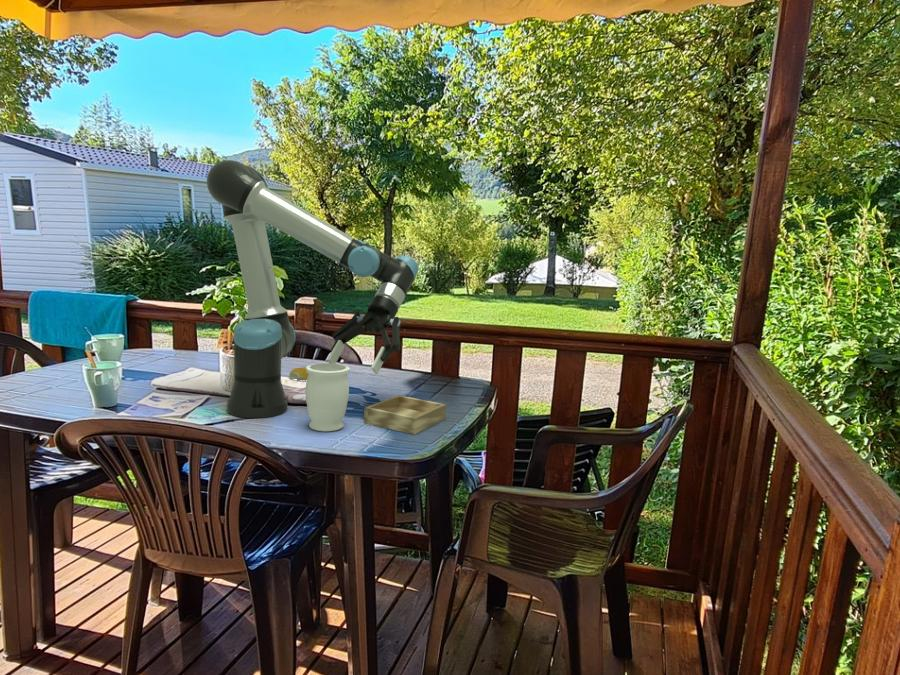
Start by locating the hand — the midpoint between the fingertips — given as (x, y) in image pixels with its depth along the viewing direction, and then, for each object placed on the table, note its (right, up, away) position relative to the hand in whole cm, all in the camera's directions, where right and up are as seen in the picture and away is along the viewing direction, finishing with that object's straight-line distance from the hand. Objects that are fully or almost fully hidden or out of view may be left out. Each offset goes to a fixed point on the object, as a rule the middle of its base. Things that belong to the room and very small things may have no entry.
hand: (351, 366), depth 148 cm
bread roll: (-23, -6, +43) cm, 50 cm away
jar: (-6, -15, -4) cm, 16 cm away
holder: (+13, -14, +4) cm, 20 cm away
